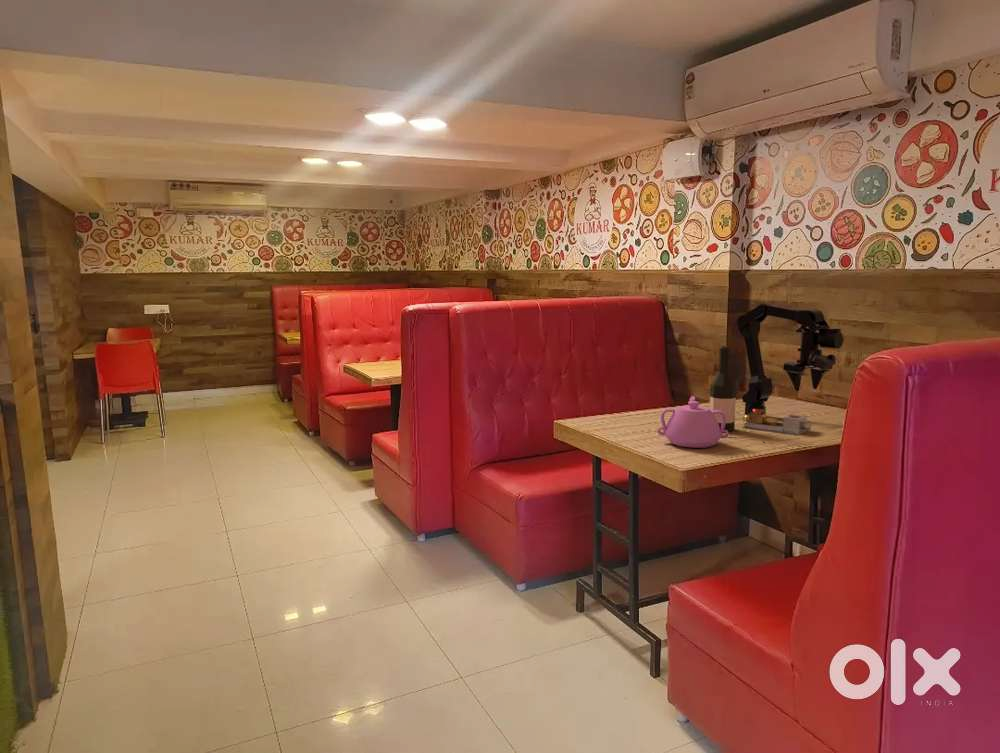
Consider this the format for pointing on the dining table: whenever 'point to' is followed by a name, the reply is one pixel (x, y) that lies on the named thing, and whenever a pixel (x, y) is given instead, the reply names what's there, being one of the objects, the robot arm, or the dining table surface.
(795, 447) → the dining table surface
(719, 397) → the wine bottle
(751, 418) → the valve
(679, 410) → the purple lidded pot
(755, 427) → the grey metal channel
